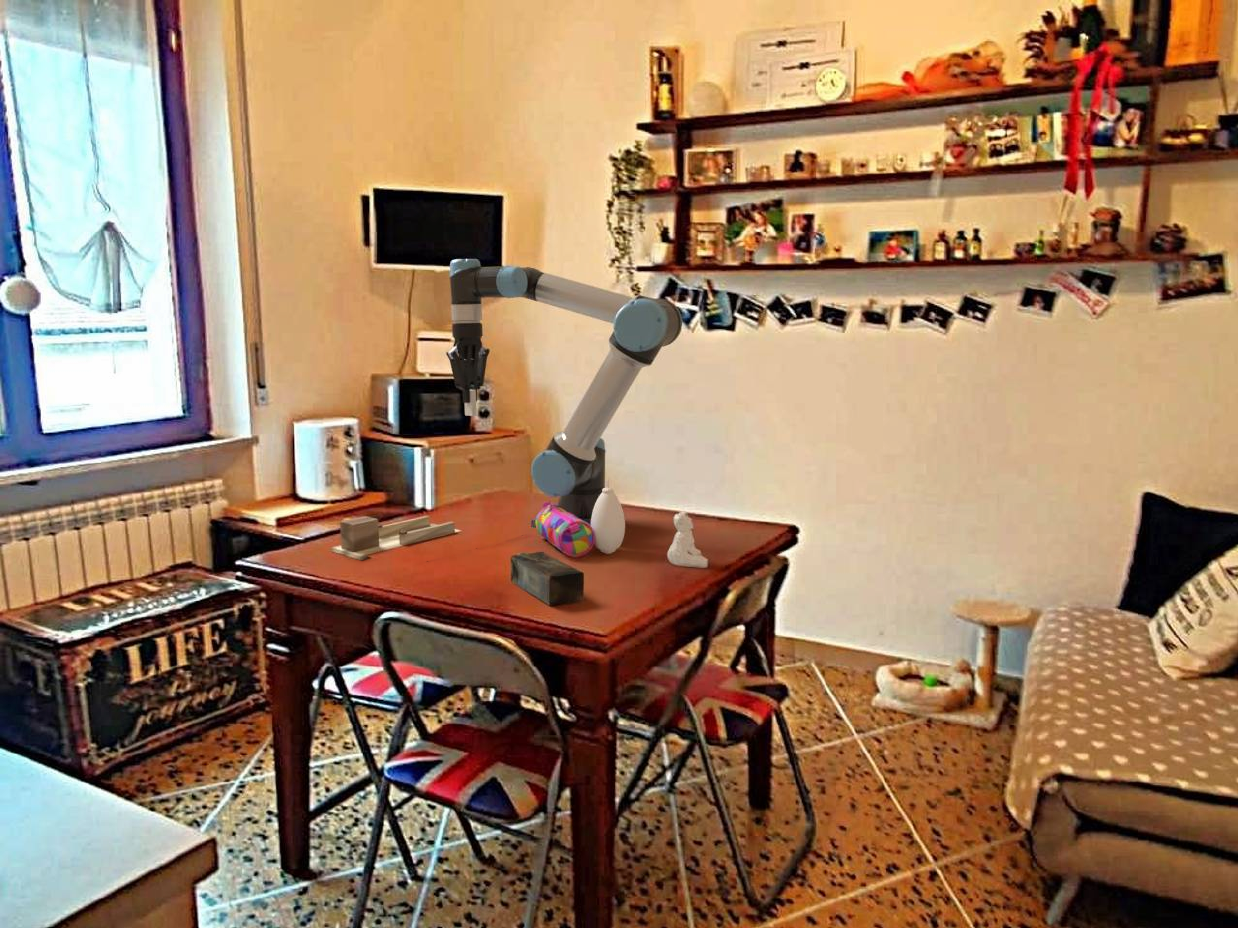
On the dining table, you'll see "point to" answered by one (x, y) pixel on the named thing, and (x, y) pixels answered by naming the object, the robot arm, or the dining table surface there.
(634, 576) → the dining table surface
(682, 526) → the white creature statuette
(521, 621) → the dining table surface
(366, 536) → the walnut block
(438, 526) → the railed wooden board
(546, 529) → the pencil case
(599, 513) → the sauce bottle
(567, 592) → the dark grey block
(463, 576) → the dining table surface
